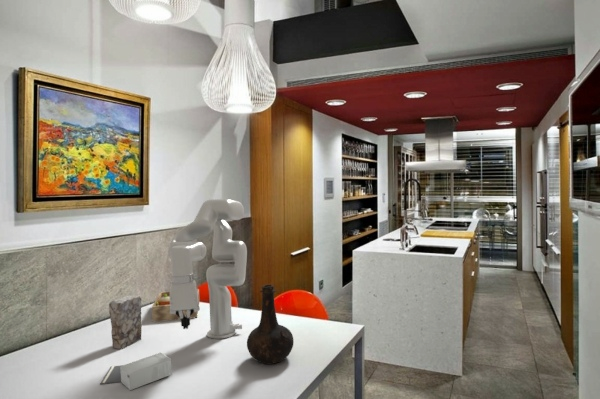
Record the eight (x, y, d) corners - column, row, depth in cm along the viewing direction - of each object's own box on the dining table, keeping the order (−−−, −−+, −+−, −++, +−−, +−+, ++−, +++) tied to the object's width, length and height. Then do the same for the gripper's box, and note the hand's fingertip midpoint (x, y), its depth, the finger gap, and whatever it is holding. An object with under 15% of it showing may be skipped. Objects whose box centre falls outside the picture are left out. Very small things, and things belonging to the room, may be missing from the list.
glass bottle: (276, 372, 144) (273, 293, 144) (237, 363, 154) (234, 288, 153) (303, 355, 159) (300, 283, 159) (266, 347, 169) (263, 279, 168)
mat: (161, 362, 157) (161, 360, 157) (155, 377, 143) (155, 376, 143) (110, 367, 154) (110, 366, 154) (100, 384, 140) (100, 383, 140)
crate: (199, 301, 245) (198, 289, 244) (197, 317, 213) (196, 302, 213) (160, 305, 240) (160, 292, 240) (152, 321, 209) (151, 306, 209)
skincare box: (162, 366, 150) (120, 382, 141) (161, 351, 150) (119, 365, 140) (172, 374, 144) (129, 392, 134) (171, 358, 144) (127, 374, 134)
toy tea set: (181, 316, 213) (181, 298, 213) (153, 315, 215) (153, 296, 215) (201, 303, 239) (201, 287, 239) (175, 302, 241) (176, 286, 241)
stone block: (124, 350, 171) (122, 302, 171) (110, 349, 173) (108, 301, 172) (144, 338, 184) (142, 294, 183) (130, 338, 185) (128, 293, 185)
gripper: (203, 274, 157) (206, 321, 158) (162, 278, 154) (166, 326, 155) (203, 279, 149) (206, 328, 151) (160, 283, 146) (163, 333, 148)
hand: (185, 327), depth 153 cm, fingers closed
